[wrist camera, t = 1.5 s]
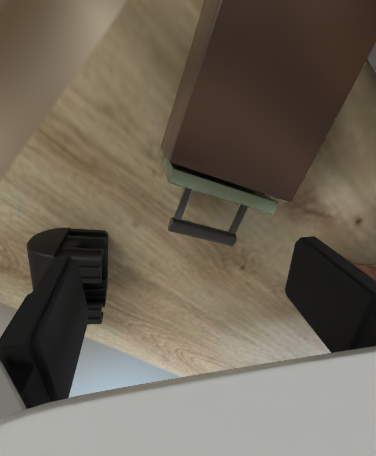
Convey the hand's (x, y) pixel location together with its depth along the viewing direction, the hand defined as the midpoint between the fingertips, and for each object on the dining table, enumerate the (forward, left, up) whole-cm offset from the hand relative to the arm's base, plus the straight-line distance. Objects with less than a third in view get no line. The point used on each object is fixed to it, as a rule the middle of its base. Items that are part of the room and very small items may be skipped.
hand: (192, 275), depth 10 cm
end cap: (-7, -13, -19) cm, 24 cm away
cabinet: (+5, +11, -19) cm, 22 cm away
